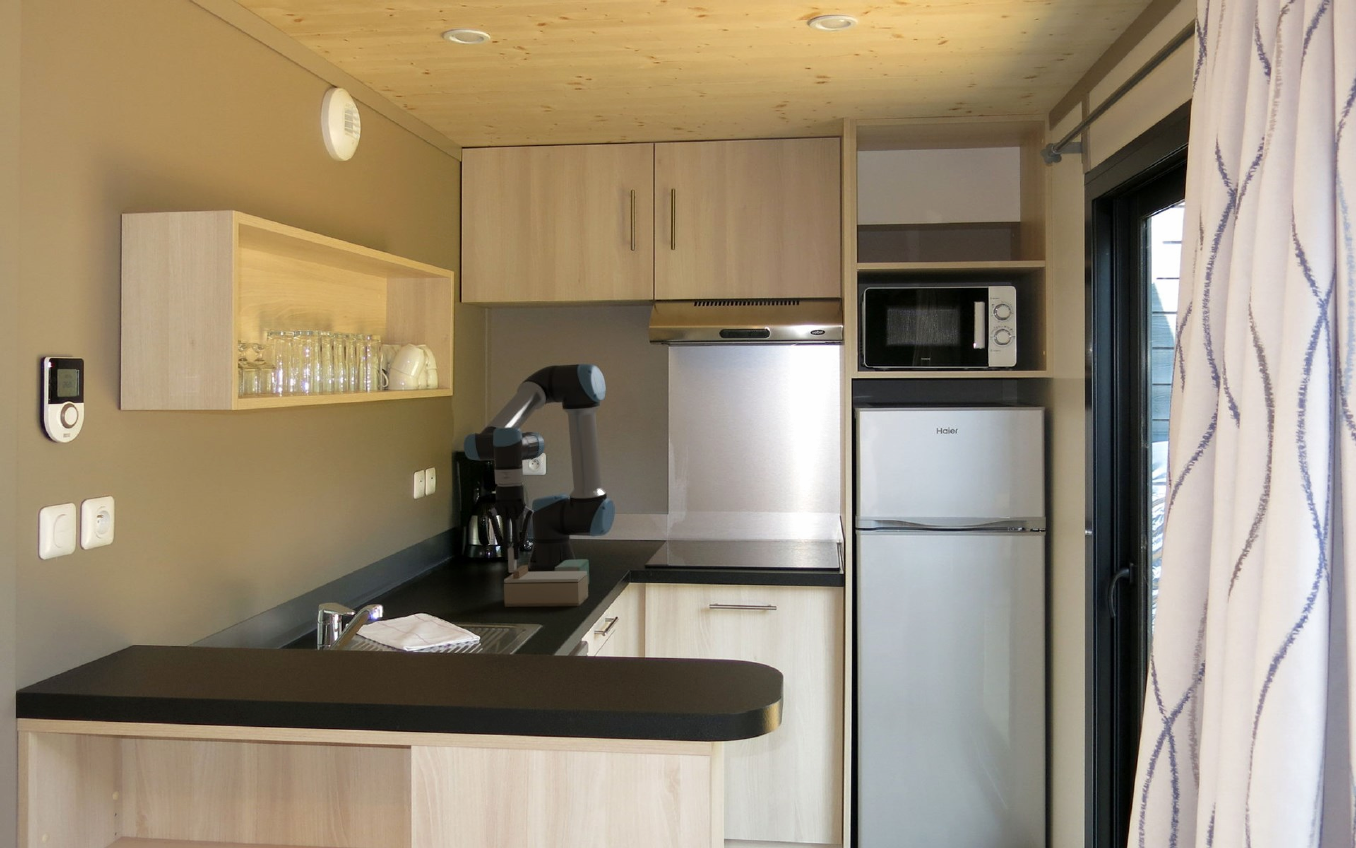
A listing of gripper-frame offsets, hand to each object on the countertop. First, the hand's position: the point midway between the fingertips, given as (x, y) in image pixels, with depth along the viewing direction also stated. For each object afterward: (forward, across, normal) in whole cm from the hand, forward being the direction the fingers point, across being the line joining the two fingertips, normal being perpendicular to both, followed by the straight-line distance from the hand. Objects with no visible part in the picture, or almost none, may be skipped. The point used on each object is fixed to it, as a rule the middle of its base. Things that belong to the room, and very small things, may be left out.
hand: (512, 571), depth 275 cm
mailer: (+8, +9, 0) cm, 12 cm away
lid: (+2, +9, 0) cm, 9 cm away
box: (+9, +12, +18) cm, 24 cm away
